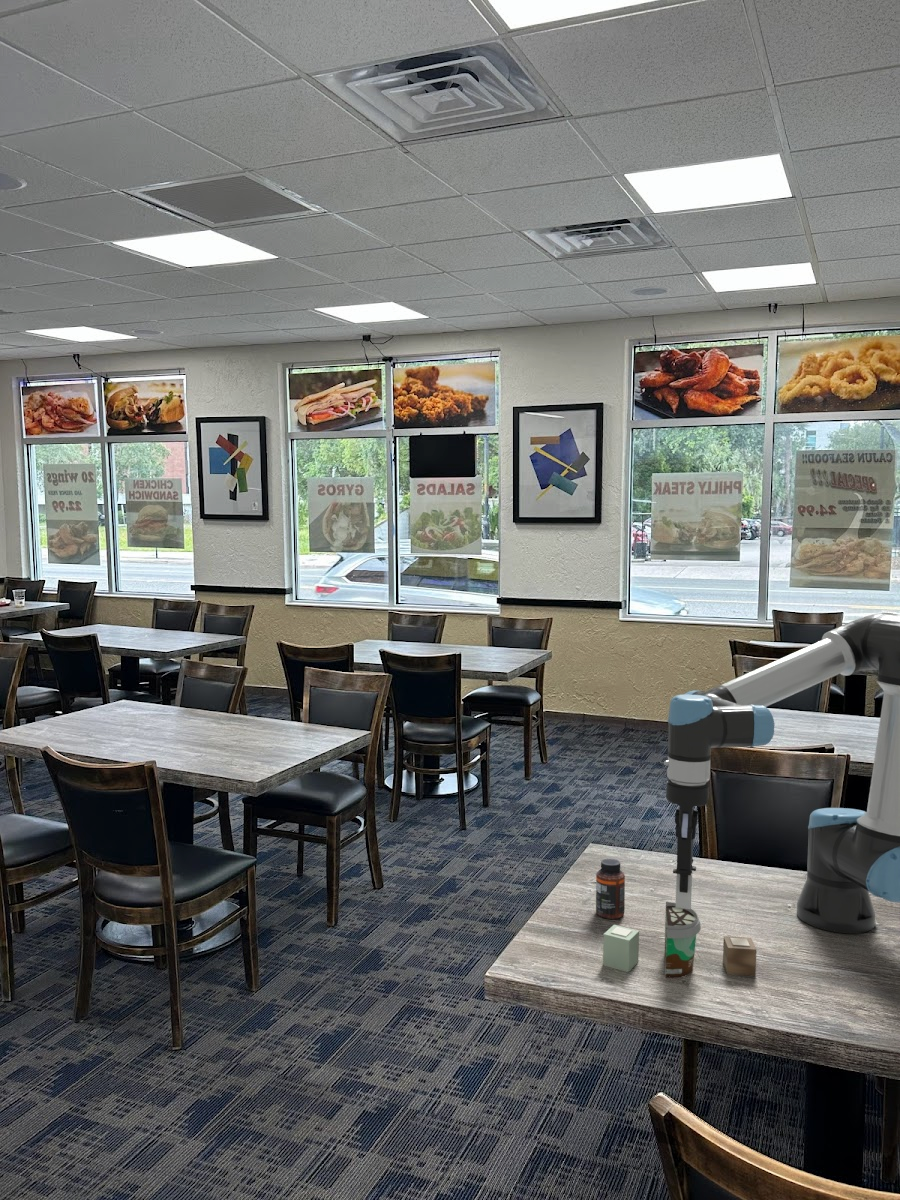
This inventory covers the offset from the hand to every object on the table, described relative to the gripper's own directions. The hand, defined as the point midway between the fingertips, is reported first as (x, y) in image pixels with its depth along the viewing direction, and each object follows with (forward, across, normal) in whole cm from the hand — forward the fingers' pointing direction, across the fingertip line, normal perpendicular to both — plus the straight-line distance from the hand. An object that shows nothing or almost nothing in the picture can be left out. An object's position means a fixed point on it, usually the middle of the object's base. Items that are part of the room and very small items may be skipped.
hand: (683, 906), depth 173 cm
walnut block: (+12, -3, +10) cm, 16 cm away
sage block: (+12, +2, -11) cm, 16 cm away
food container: (+12, 0, 0) cm, 12 cm away
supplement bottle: (+12, -20, -16) cm, 28 cm away
